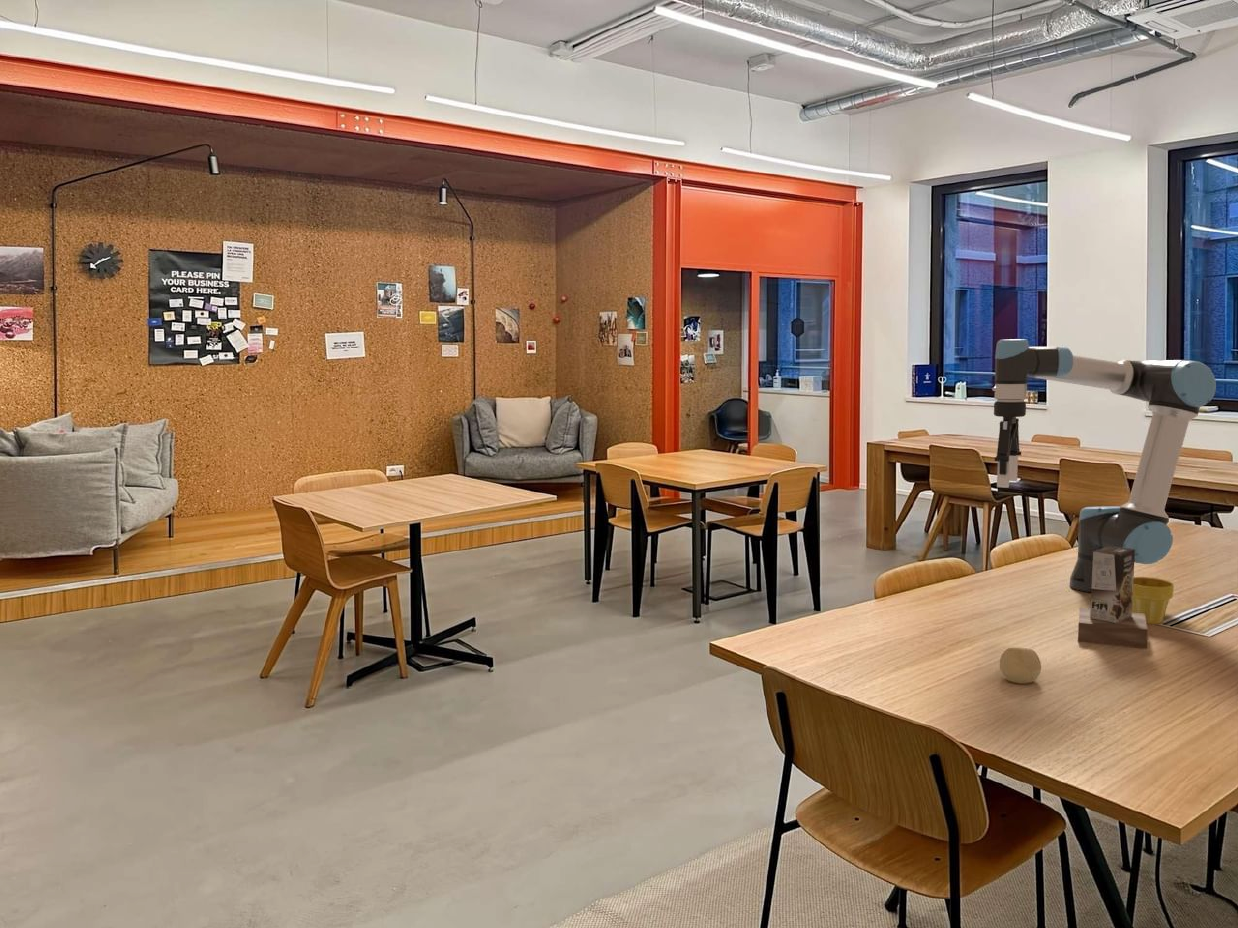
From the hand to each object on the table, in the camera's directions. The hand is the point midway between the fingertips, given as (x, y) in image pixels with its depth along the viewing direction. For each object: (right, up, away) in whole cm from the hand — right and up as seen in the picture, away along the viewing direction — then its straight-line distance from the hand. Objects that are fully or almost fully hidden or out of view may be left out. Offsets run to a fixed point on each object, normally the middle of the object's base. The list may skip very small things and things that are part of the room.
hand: (1007, 484), depth 253 cm
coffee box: (+16, -31, -21) cm, 41 cm away
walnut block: (+16, -36, -21) cm, 45 cm away
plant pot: (+32, -34, -8) cm, 47 cm away
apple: (-17, -39, -50) cm, 66 cm away
